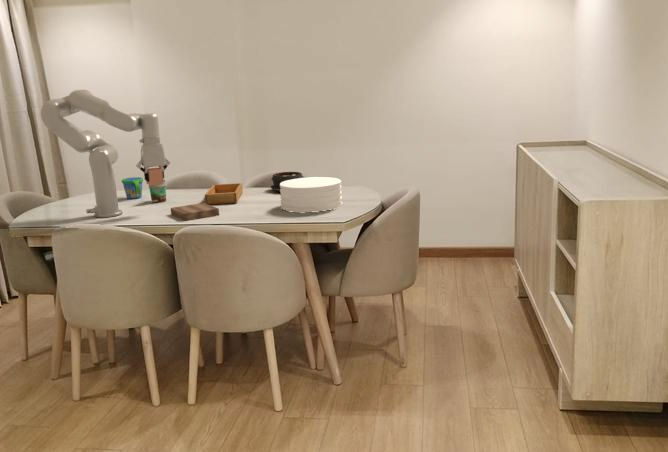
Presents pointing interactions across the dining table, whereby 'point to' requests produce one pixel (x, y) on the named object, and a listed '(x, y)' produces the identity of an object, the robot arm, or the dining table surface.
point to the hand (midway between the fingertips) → (154, 180)
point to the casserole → (284, 178)
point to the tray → (223, 194)
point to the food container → (158, 192)
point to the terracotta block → (155, 176)
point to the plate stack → (311, 194)
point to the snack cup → (133, 187)
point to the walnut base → (194, 211)
